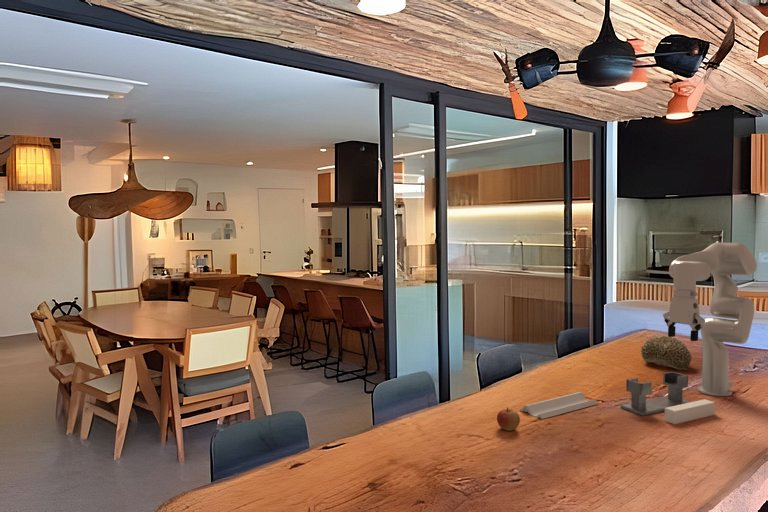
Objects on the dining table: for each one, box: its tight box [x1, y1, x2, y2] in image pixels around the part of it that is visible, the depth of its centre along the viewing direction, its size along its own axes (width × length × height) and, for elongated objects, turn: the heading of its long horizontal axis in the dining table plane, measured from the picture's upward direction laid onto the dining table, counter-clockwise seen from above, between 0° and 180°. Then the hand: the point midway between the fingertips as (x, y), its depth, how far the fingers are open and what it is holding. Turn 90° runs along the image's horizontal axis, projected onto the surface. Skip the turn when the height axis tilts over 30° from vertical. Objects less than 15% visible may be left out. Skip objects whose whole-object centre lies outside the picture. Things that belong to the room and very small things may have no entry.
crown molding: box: [519, 391, 599, 420], centre depth 217 cm, size 31×12×4 cm, turn 121°
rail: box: [664, 398, 716, 425], centre depth 204 cm, size 22×4×5 cm, turn 115°
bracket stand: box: [620, 371, 693, 417], centre depth 216 cm, size 28×10×12 cm, turn 114°
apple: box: [496, 407, 521, 432], centre depth 194 cm, size 8×8×8 cm
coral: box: [640, 335, 693, 371], centre depth 278 cm, size 23×18×15 cm
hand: (682, 338), depth 211 cm, fingers open, 9 cm apart
